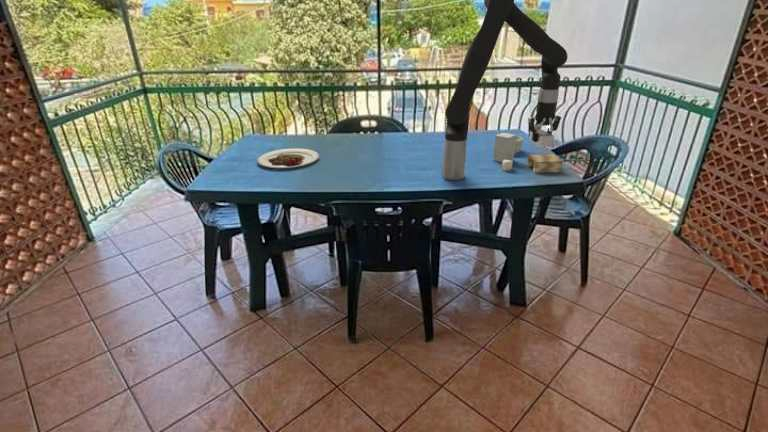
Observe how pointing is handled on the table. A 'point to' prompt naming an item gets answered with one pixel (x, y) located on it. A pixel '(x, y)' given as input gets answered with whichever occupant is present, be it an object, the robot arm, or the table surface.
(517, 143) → the ramekin
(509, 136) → the supplement box
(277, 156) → the plated food
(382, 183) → the table surface
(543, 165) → the stand
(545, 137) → the housing
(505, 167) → the beige cube
